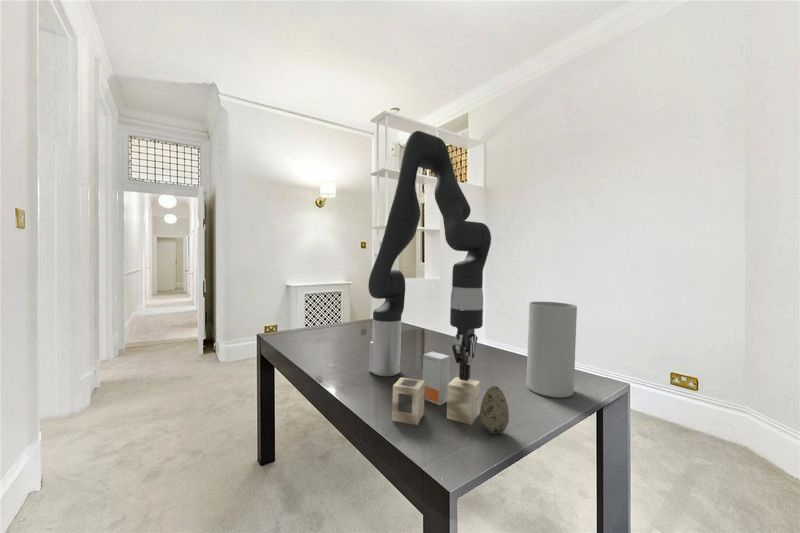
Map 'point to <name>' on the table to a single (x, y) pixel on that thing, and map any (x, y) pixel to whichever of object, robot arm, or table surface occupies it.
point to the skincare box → (436, 377)
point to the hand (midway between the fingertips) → (464, 379)
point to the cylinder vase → (551, 348)
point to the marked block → (408, 400)
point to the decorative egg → (494, 411)
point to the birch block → (463, 400)
